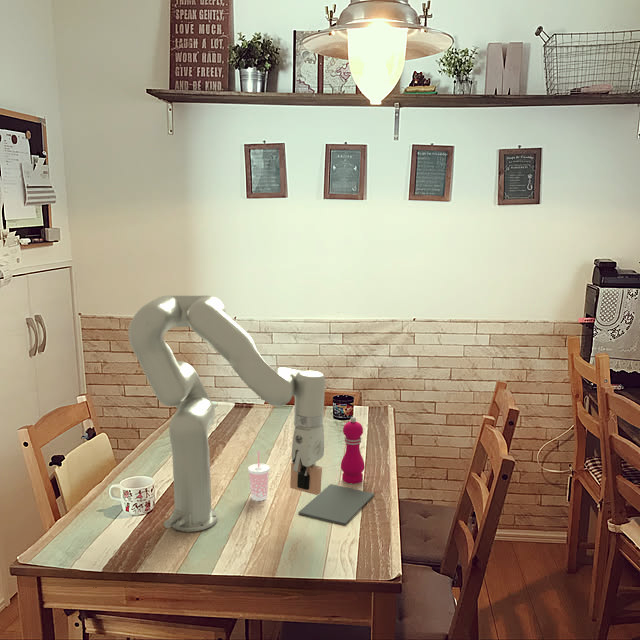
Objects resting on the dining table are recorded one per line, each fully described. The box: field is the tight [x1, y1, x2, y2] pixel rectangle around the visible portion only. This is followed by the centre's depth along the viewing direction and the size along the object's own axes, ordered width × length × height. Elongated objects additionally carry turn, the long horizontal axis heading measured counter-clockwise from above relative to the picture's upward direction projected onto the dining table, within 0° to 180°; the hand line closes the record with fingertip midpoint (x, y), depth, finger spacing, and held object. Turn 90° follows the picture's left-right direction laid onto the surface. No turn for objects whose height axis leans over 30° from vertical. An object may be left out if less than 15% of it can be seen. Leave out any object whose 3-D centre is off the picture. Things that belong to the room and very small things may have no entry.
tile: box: [289, 462, 323, 496], centre depth 172 cm, size 2×8×7 cm, turn 63°
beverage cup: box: [247, 450, 270, 502], centre depth 188 cm, size 6×6×14 cm
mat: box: [298, 483, 375, 526], centre depth 185 cm, size 20×14×1 cm
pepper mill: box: [340, 416, 365, 485], centre depth 200 cm, size 7×7×20 cm
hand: (305, 486), depth 173 cm, fingers closed on tile, 1 cm apart
